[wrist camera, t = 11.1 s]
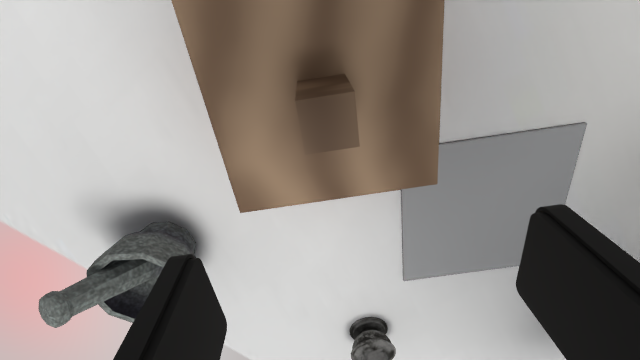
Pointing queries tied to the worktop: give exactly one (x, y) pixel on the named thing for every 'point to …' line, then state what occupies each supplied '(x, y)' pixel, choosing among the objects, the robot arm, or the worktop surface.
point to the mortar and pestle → (120, 275)
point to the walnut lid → (319, 94)
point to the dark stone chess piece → (371, 340)
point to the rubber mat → (485, 200)
